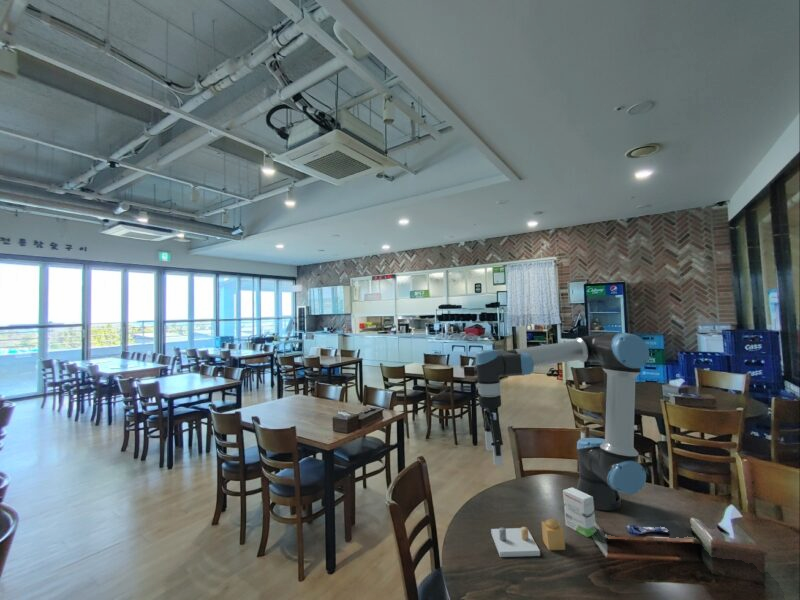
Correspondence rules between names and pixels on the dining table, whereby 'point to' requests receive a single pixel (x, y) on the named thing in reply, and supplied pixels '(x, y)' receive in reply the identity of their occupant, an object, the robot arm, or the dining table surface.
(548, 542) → the tan stud block
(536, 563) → the dining table surface
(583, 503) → the ink box
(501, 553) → the plate
